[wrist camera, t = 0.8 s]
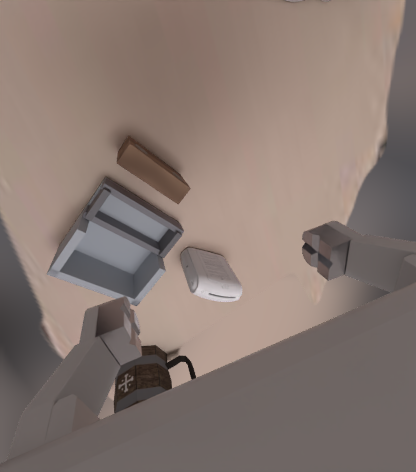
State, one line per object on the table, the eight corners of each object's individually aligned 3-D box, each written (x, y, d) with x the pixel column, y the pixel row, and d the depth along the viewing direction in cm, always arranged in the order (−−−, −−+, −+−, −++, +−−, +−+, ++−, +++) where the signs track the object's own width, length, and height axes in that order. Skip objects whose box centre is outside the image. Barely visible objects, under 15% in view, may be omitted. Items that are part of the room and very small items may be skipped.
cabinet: (106, 175, 38) (102, 192, 32) (179, 221, 46) (189, 242, 39) (59, 246, 42) (46, 274, 35) (135, 278, 49) (136, 306, 43)
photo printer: (176, 261, 50) (190, 302, 40) (184, 244, 49) (200, 283, 39) (218, 270, 55) (239, 309, 45) (226, 254, 54) (250, 292, 43)
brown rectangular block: (129, 134, 37) (130, 143, 30) (180, 173, 42) (190, 188, 35) (118, 151, 37) (116, 163, 31) (169, 187, 42) (178, 204, 36)
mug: (122, 385, 65) (121, 453, 52) (105, 356, 58) (101, 427, 45) (192, 360, 68) (207, 418, 56) (185, 330, 61) (200, 388, 49)
